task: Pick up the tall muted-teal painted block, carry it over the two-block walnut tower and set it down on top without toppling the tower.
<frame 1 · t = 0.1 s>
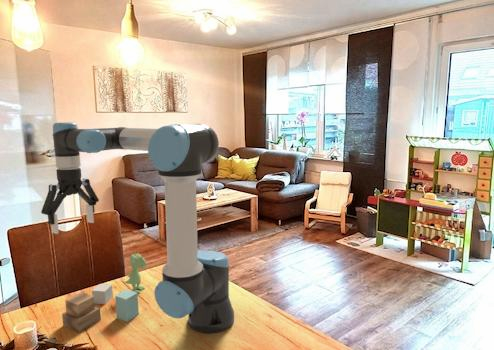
hand: (73, 227, 125), 28 cm above the table, fingers open, 13 cm apart
toy: (135, 290, 137), on the table
teal block: (127, 316, 120), on the table
top block: (80, 310, 115), point 4 cm above the table, touching base block
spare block: (103, 300, 130), on the table
base block: (82, 323, 116), on the table, touching top block
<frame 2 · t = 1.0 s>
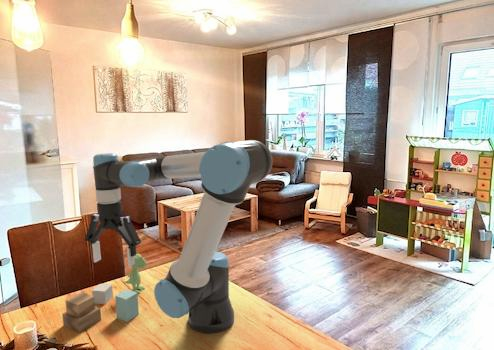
hand: (114, 263, 118), 18 cm above the table, fingers open, 13 cm apart
nothing on the table moved.
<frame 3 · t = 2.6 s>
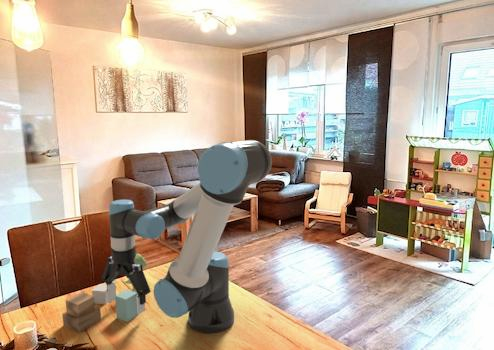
hand: (126, 306, 119), 3 cm above the table, fingers open, 13 cm apart
nothing on the table moved.
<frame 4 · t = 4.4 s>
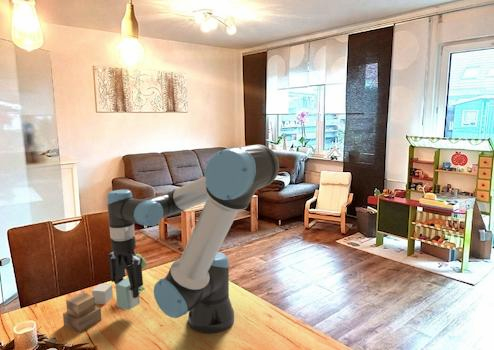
hand: (128, 303, 118), 5 cm above the table, fingers closed on teal block, 5 cm apart
teal block: (128, 304, 118), point 4 cm above the table, touching gripper
top block: (81, 311, 115), point 4 cm above the table
base block: (83, 323, 116), on the table
everything else where it was.
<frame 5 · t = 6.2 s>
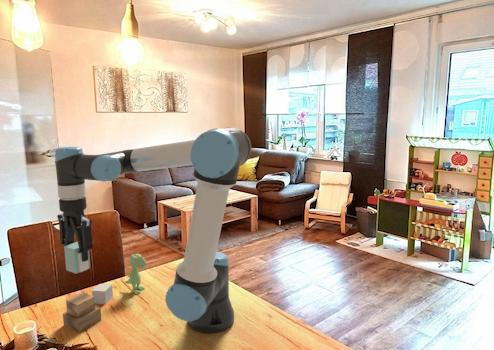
hand: (78, 268, 113), 19 cm above the table, fingers closed on teal block, 5 cm apart
teal block: (78, 268, 113), point 19 cm above the table, touching gripper
everything else where it was.
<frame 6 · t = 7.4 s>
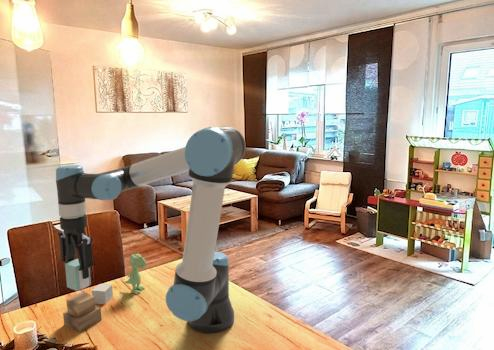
hand: (78, 285, 113), 13 cm above the table, fingers closed on teal block, 5 cm apart
teal block: (79, 285, 113), point 13 cm above the table, touching gripper
top block: (81, 310, 115), point 4 cm above the table, touching base block
base block: (83, 323, 116), on the table, touching top block
everything else where it was.
when the fingers open (12 cm above the table, at t = 8.0 s): teal block drops 3 cm, resting on top block.
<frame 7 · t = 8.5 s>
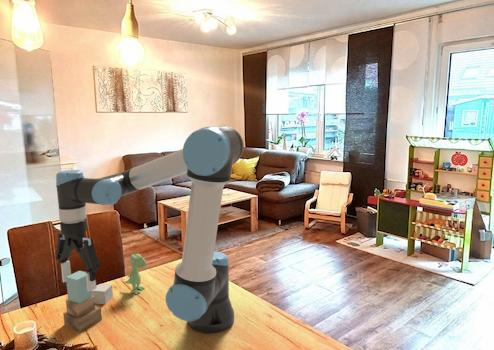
hand: (79, 285, 113), 13 cm above the table, fingers open, 11 cm apart
teal block: (80, 298, 114), point 9 cm above the table, touching top block
top block: (81, 310, 115), point 4 cm above the table, touching base block, teal block
everything else where it was.
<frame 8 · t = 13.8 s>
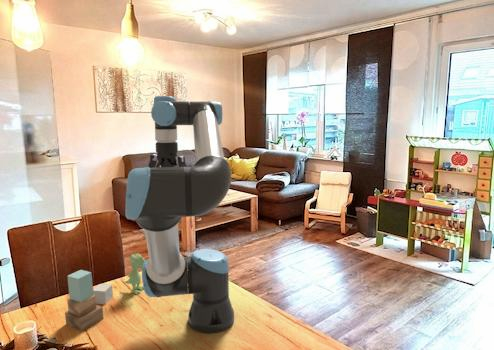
hand: (168, 200, 127), 37 cm above the table, fingers open, 13 cm apart
teal block: (81, 297, 115), point 9 cm above the table
top block: (82, 310, 115), point 4 cm above the table, touching base block
everything else where it was.
at the end: teal block 0.1 cm off-centre on the top block, point 4.5 cm above the top block's base; teal block tilted 0°; top block moved 0.7 cm from its start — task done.
